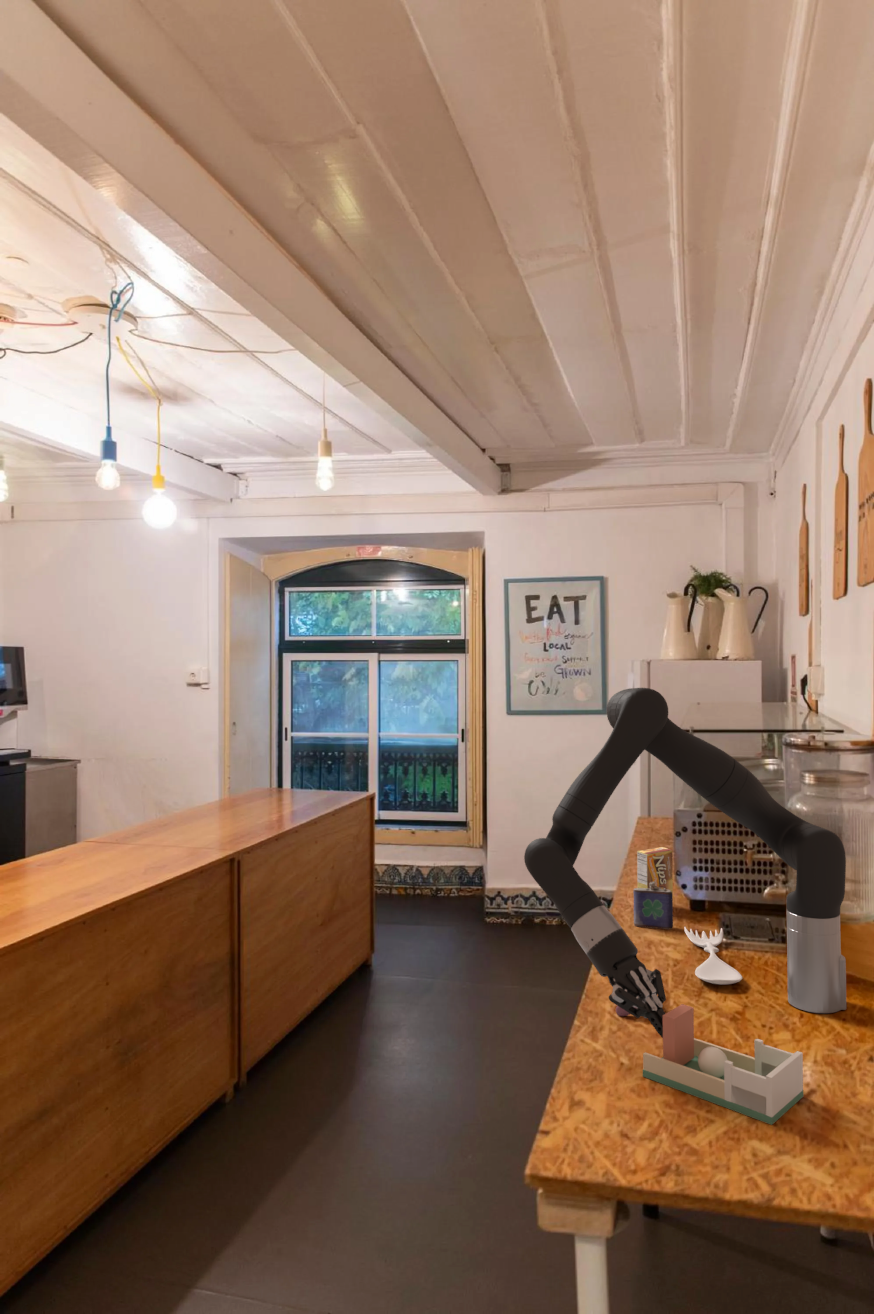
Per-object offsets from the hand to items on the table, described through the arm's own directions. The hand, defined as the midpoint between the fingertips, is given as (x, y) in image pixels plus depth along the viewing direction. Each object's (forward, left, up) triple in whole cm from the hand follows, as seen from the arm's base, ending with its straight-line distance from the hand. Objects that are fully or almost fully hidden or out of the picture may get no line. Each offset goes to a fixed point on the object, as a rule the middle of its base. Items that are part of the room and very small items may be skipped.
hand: (669, 1034), depth 138 cm
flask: (-15, -72, -6) cm, 74 cm away
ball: (-5, +5, -2) cm, 8 cm away
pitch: (-6, +6, -5) cm, 10 cm away
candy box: (-19, -86, -5) cm, 88 cm away
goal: (-11, +11, -5) cm, 16 cm away
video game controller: (+1, -24, -6) cm, 25 cm away
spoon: (-21, -47, -6) cm, 52 cm away
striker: (-1, +1, -4) cm, 4 cm away
